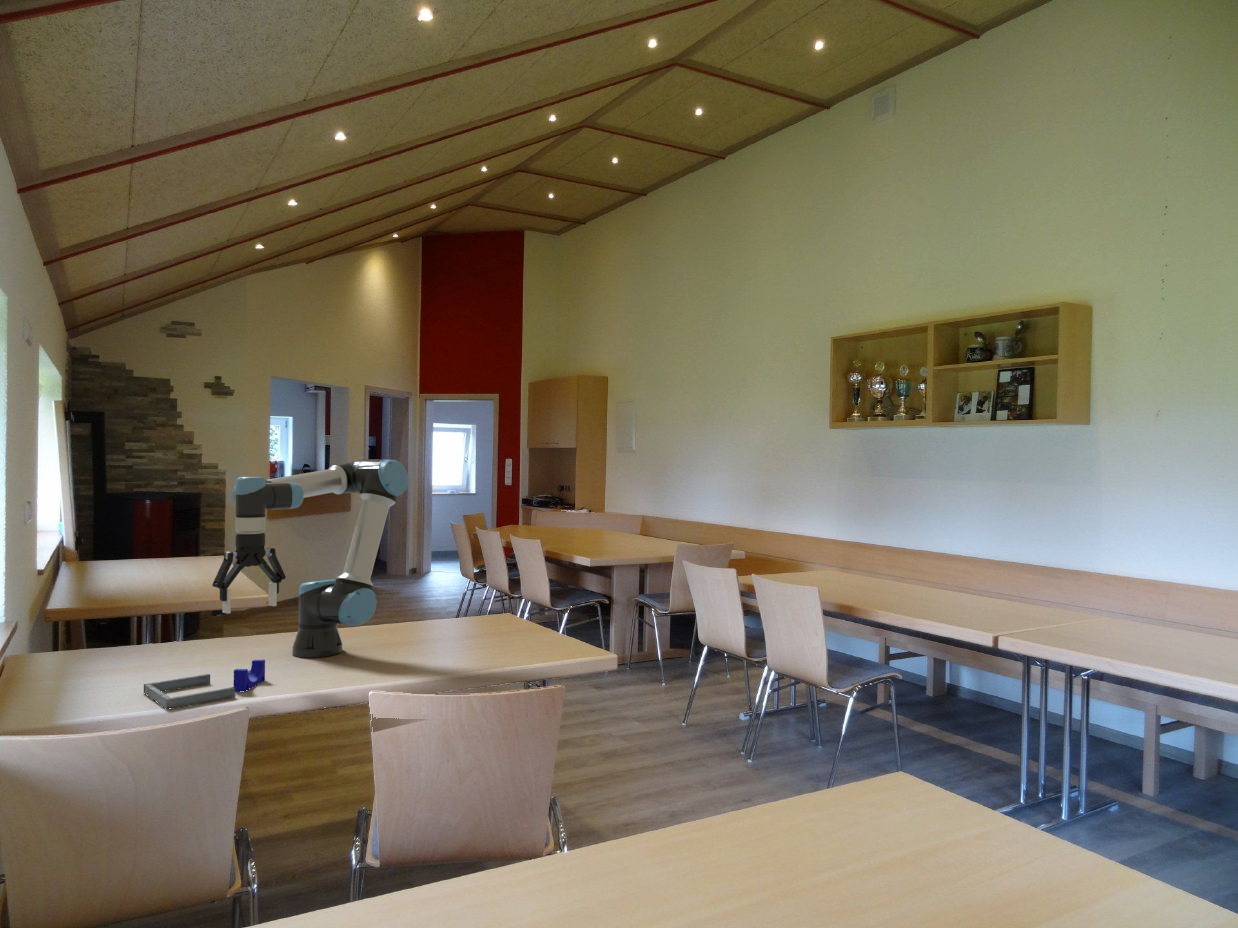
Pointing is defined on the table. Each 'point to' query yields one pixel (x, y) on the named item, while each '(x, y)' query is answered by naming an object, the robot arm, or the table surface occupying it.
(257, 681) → the cable clip
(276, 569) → the robot arm
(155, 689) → the bracket
